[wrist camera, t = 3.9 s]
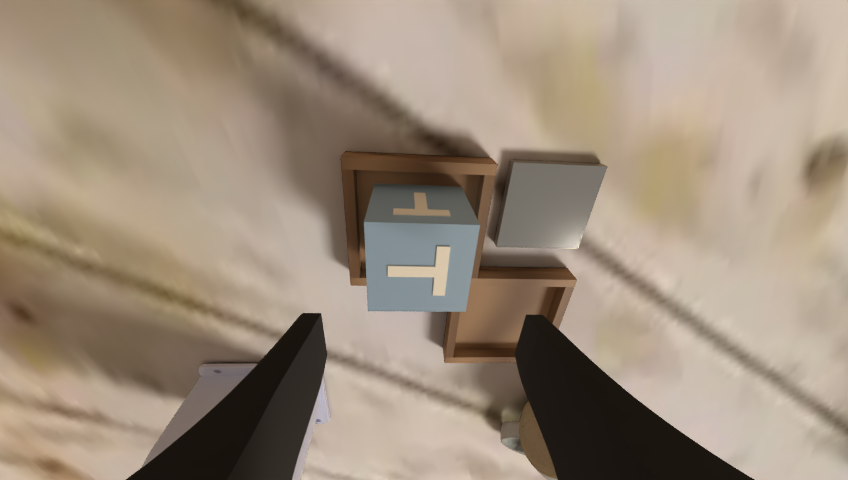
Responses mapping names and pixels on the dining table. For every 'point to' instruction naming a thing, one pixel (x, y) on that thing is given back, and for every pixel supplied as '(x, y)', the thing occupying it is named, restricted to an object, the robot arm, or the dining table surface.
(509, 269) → the tray
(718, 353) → the dining table surface
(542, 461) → the ceramic mug
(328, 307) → the dining table surface
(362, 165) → the tray
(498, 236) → the slate tile
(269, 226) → the dining table surface
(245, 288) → the dining table surface
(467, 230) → the letter cube
